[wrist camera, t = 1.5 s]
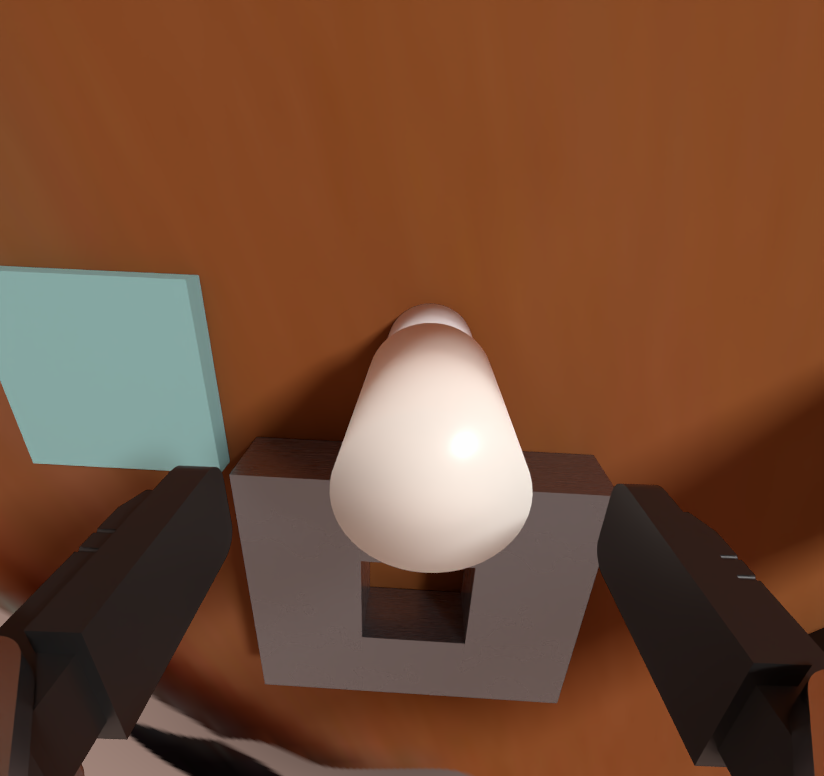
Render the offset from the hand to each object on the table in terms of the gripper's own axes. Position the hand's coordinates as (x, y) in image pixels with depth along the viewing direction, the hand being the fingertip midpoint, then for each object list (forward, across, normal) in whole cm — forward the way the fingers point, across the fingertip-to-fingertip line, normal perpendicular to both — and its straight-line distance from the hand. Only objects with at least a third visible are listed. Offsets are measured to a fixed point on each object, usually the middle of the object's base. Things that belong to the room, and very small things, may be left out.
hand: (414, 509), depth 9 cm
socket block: (+10, 0, +12) cm, 16 cm away
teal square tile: (+10, +14, +2) cm, 17 cm away
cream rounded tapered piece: (+10, 0, 0) cm, 10 cm away
